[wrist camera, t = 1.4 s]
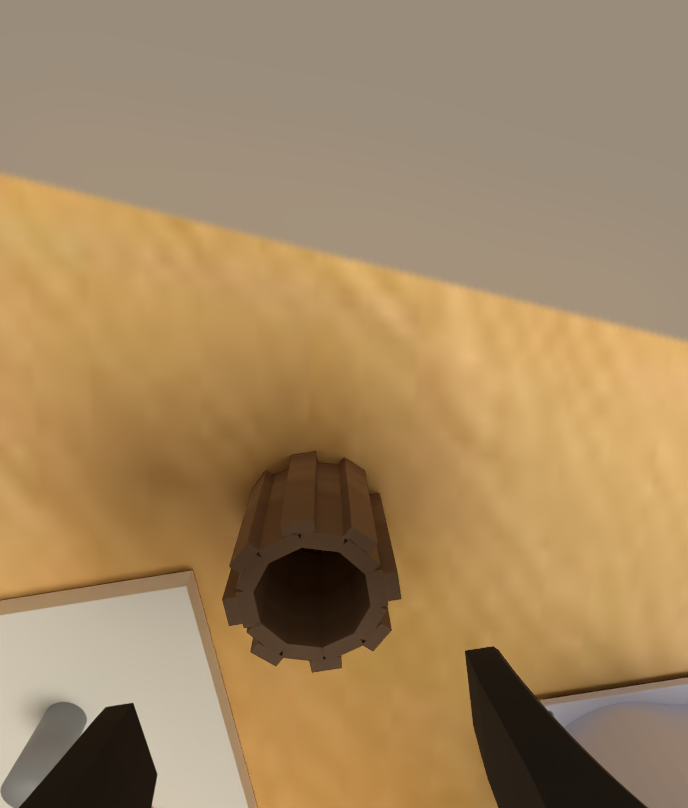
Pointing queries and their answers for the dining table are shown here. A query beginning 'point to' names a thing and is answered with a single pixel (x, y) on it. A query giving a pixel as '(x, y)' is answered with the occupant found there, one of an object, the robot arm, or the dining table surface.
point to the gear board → (119, 687)
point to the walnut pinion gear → (312, 565)
